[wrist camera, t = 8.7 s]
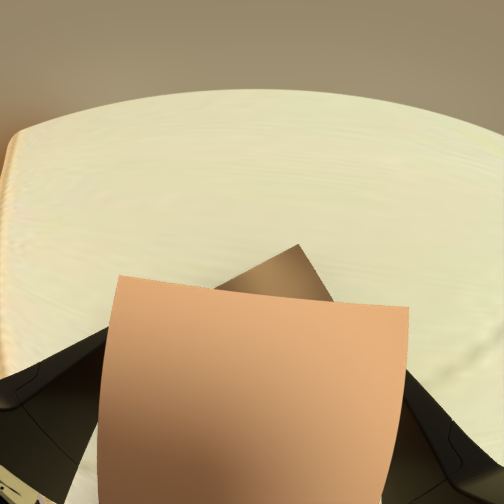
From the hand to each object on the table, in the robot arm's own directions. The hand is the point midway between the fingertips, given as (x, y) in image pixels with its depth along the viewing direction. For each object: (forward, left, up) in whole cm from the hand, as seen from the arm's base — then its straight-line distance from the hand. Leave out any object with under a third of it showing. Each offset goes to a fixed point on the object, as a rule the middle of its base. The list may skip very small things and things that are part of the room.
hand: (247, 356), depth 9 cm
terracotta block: (-1, -1, -9) cm, 9 cm away
